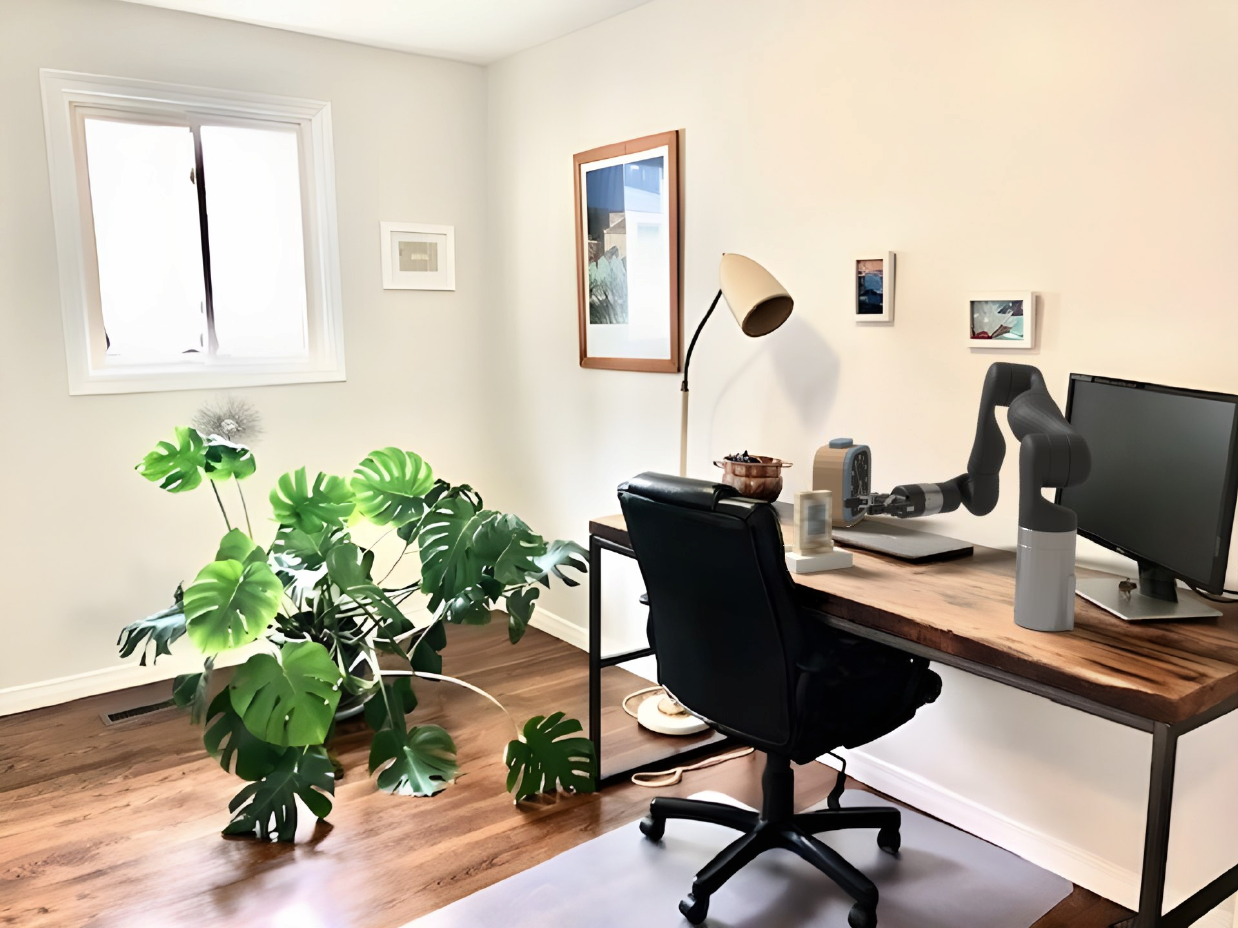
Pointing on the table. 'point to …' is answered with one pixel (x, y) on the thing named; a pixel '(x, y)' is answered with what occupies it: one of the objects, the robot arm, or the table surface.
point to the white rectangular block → (818, 560)
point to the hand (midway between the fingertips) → (855, 506)
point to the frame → (812, 522)
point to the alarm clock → (843, 477)
